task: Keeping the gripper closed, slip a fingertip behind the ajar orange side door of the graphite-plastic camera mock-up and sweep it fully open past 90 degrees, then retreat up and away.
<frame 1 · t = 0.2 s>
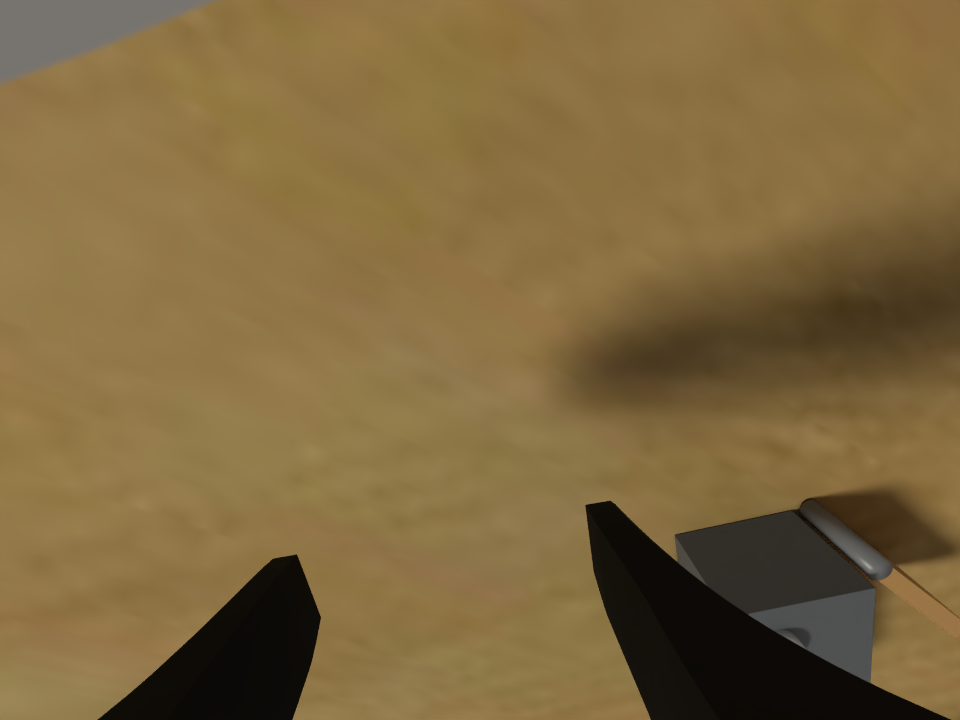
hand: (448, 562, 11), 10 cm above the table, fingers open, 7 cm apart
camera body: (737, 597, 25), on the table
side door: (879, 565, 22), point 2 cm above the table, hinge at 40.0°
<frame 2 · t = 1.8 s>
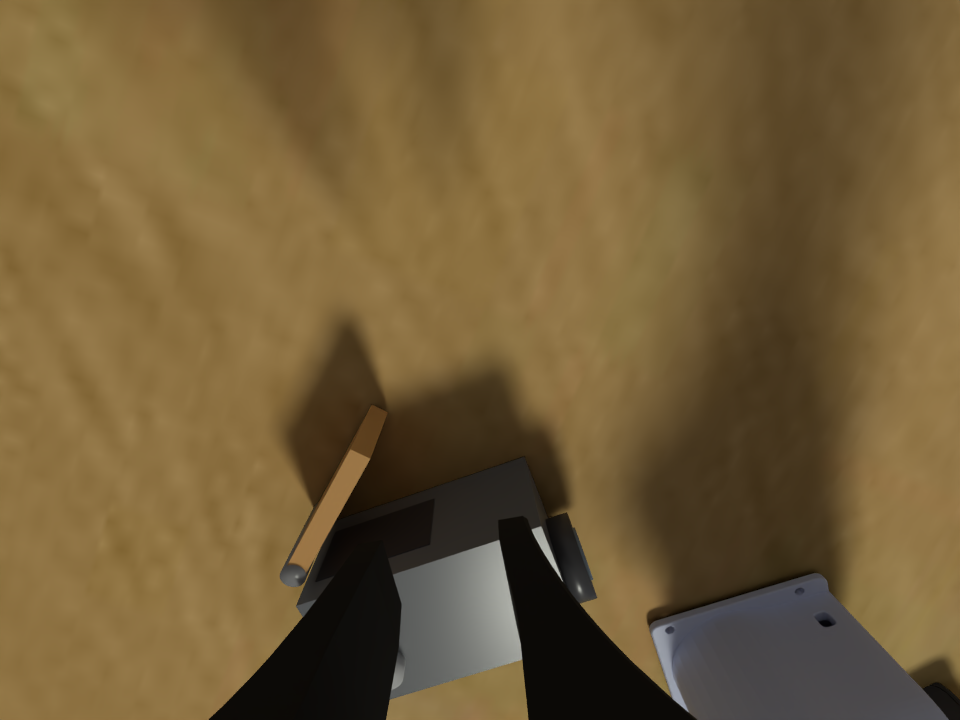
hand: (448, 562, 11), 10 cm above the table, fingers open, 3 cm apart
camera body: (449, 537, 23), on the table
side door: (336, 491, 19), point 2 cm above the table, hinge at 40.0°
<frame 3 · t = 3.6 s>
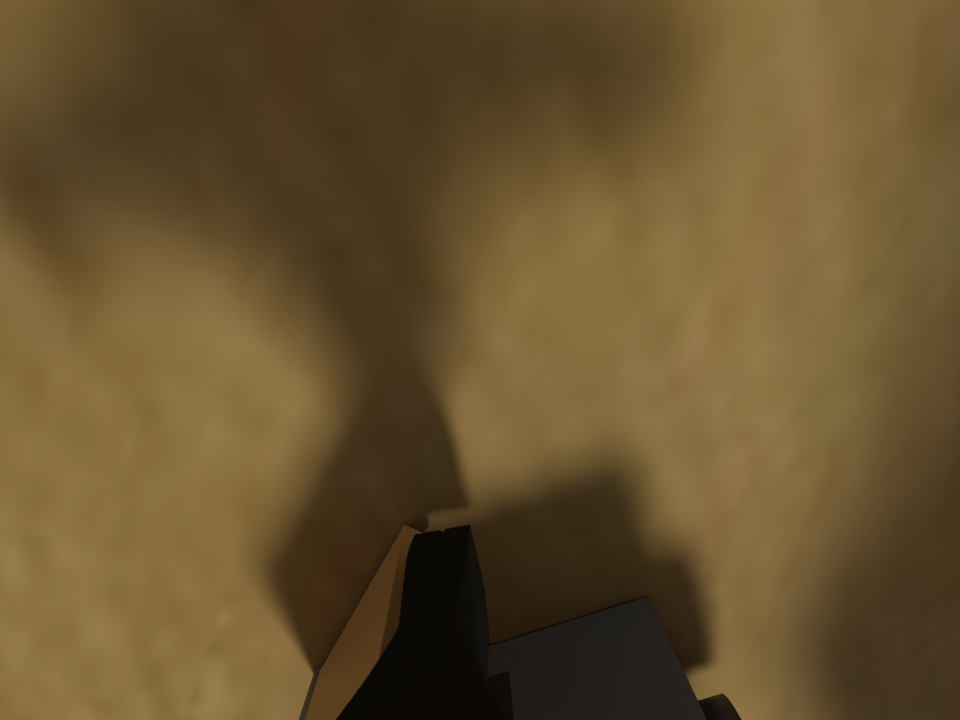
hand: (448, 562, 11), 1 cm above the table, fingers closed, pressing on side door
camera body: (522, 709, 15), on the table
side door: (350, 684, 11), point 2 cm above the table, hinge at 41.0°, touching gripper
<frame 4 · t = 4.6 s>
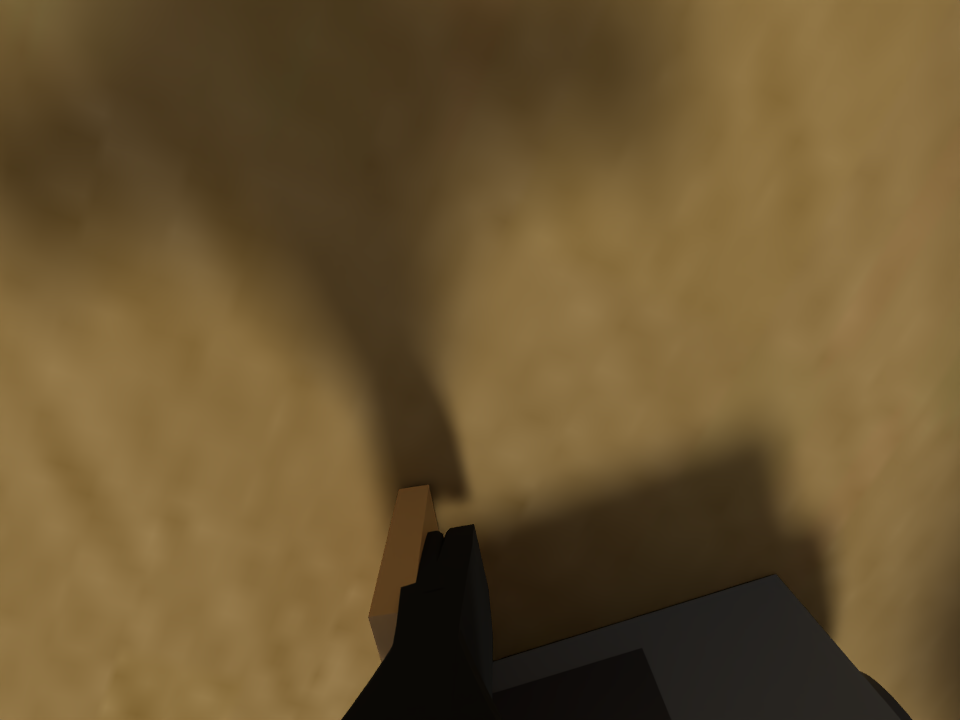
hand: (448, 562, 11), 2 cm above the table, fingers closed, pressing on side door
camera body: (639, 689, 15), on the table
side door: (431, 650, 11), point 2 cm above the table, hinge at 78.0°, touching gripper
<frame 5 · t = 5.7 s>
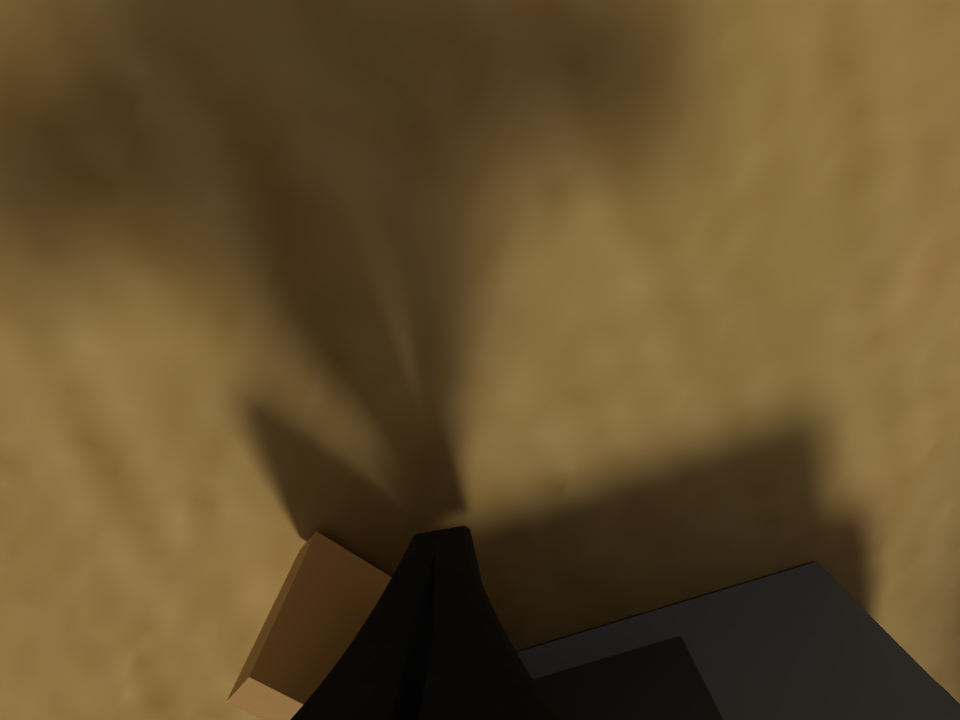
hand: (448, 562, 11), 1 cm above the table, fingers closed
camera body: (671, 679, 15), on the table
side door: (398, 668, 11), point 2 cm above the table, hinge at 119.9°
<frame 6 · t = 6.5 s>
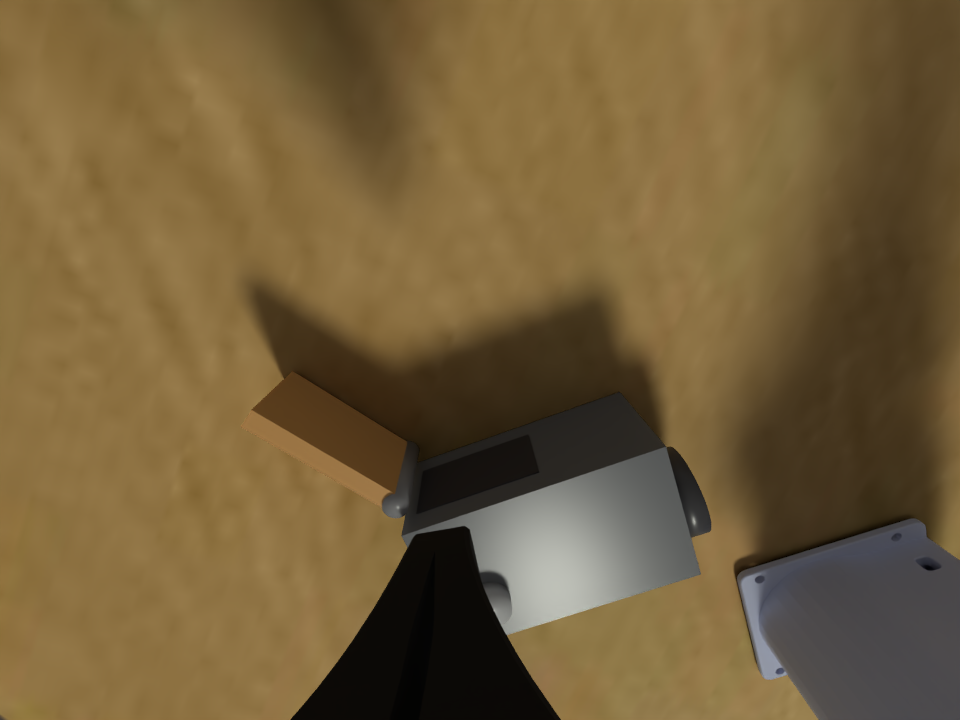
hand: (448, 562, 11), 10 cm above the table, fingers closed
camera body: (535, 480, 22), on the table
side door: (343, 440, 19), point 2 cm above the table, hinge at 123.1°
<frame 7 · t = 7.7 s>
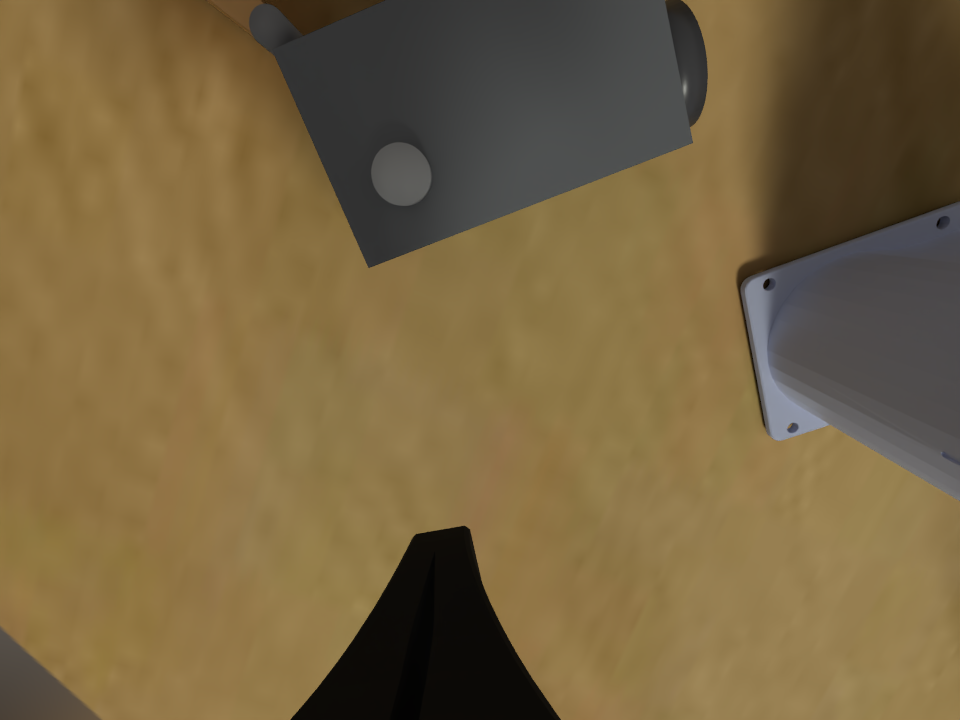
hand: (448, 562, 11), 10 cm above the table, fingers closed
camera body: (483, 128, 17), on the table
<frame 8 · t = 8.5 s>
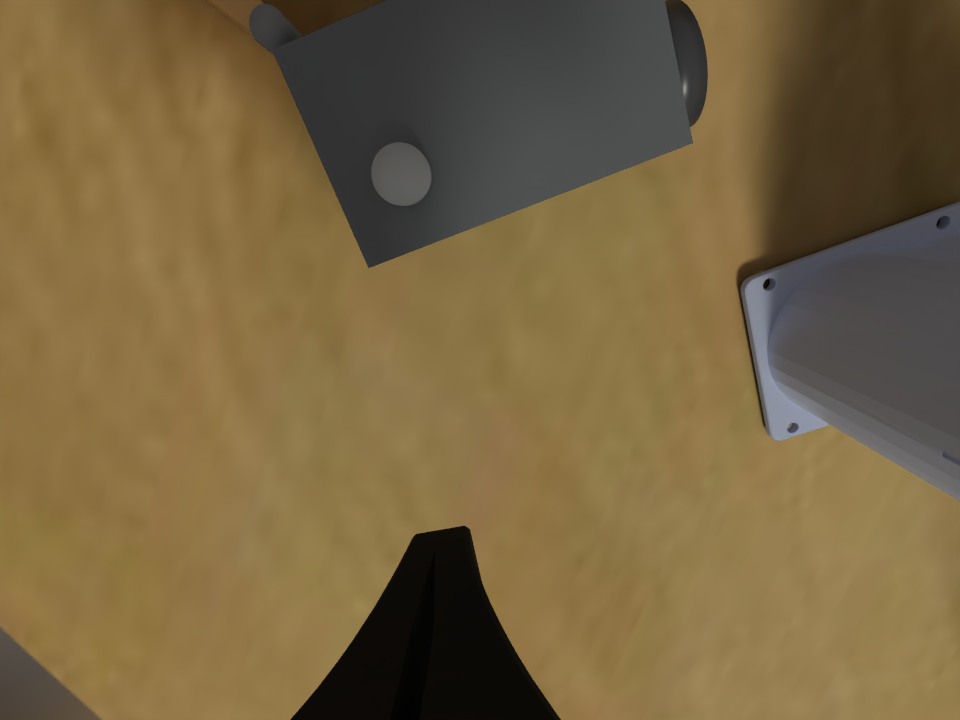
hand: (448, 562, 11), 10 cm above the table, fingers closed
camera body: (483, 128, 17), on the table
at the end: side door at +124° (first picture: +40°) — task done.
